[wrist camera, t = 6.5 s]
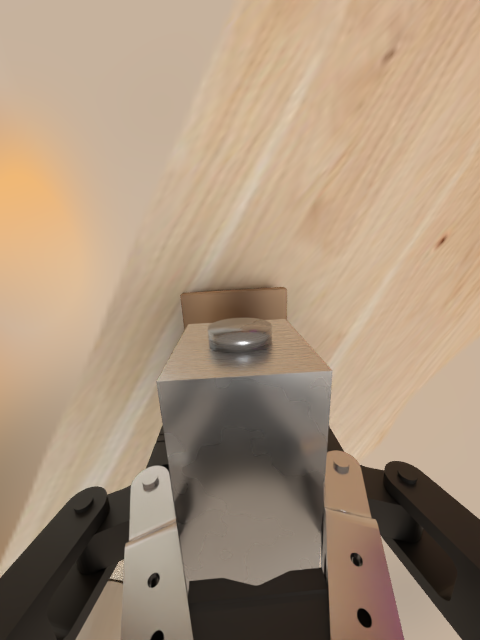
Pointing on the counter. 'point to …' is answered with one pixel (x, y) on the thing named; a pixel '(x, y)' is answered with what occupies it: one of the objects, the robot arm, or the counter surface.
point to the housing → (246, 448)
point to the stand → (234, 305)
